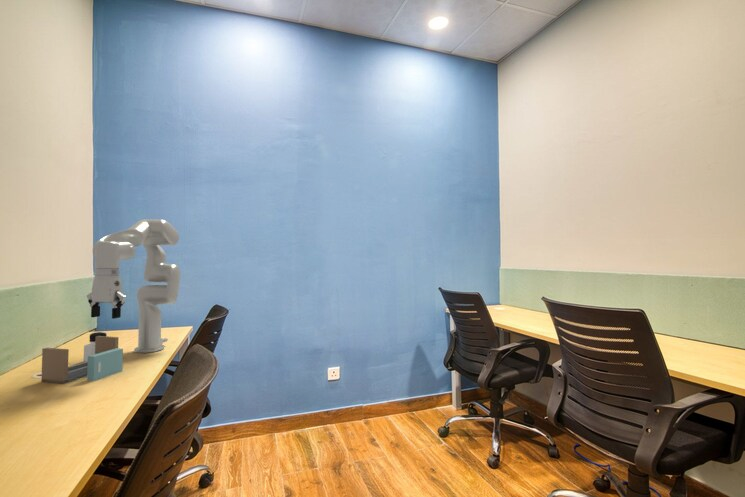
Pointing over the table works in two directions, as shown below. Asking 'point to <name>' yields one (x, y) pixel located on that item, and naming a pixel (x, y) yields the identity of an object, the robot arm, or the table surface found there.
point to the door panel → (104, 364)
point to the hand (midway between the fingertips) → (105, 317)
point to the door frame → (57, 362)
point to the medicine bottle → (91, 345)
